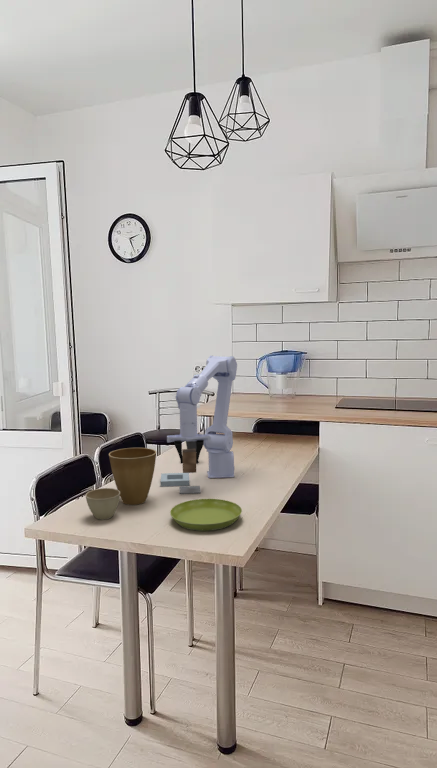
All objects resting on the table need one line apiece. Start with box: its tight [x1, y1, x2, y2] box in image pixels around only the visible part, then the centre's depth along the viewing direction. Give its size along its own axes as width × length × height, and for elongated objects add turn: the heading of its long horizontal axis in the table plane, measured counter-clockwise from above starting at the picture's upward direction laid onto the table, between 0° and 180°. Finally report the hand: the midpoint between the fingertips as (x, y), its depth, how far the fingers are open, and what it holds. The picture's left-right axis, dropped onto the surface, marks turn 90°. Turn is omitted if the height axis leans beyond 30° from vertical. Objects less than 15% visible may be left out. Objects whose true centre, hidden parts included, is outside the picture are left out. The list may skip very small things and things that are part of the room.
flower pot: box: [85, 487, 121, 521], centre depth 165 cm, size 10×10×7 cm
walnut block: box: [182, 448, 197, 474], centre depth 188 cm, size 4×4×7 cm
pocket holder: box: [160, 472, 190, 487], centre depth 199 cm, size 10×10×2 cm
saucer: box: [169, 498, 243, 532], centre depth 162 cm, size 21×21×3 cm
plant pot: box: [108, 447, 157, 506], centre depth 178 cm, size 15×15×16 cm
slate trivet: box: [178, 485, 202, 495], centre depth 189 cm, size 7×7×1 cm
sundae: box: [185, 432, 201, 465], centre depth 224 cm, size 7×7×15 cm
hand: (189, 462), depth 188 cm, fingers closed on walnut block, 4 cm apart
